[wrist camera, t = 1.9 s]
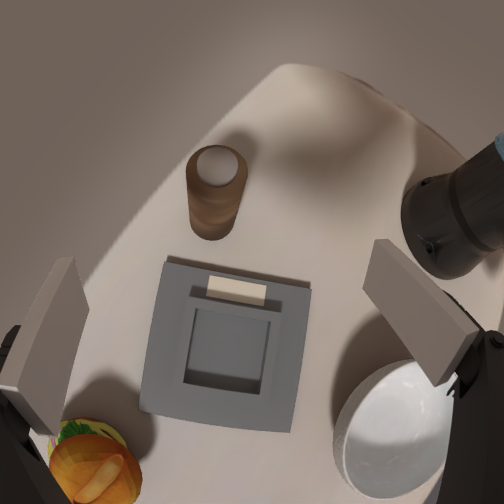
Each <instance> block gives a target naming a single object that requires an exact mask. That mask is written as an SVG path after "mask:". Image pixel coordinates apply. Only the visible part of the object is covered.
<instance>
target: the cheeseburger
mask: <svg viewBox="0 0 504 504" xmlns="http://www.w3.org/2000/svg"><path fill="white" fill-rule="evenodd" d="M48 458H49V470H50V471H51V473H52V475H53V476H54V478H55V479H56V481H57V482H58V484H59V485H60V487H61V488H62V490H63V491H64V493H65V494H66V496H67V497H68V498H69V500H70V501H71V503H72V504H133V503H134V502H135V501H136V499H137V498H138V496H139V495H140V490H141V485H142V472H141V469H140V466H139V464H138V462H137V461H136V459H135V458H134V456H133V455H132V453H131V452H130V451H129V450H128V449H127V446H126V442H125V441H124V439H123V438H122V437H121V435H120V434H119V433H118V432H117V431H116V430H115V429H113V428H112V427H111V426H109V425H107V424H106V423H101V422H99V421H97V420H94V419H91V418H75V419H72V420H69V421H63V422H60V427H59V433H58V439H57V438H49V444H48Z"/></svg>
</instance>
